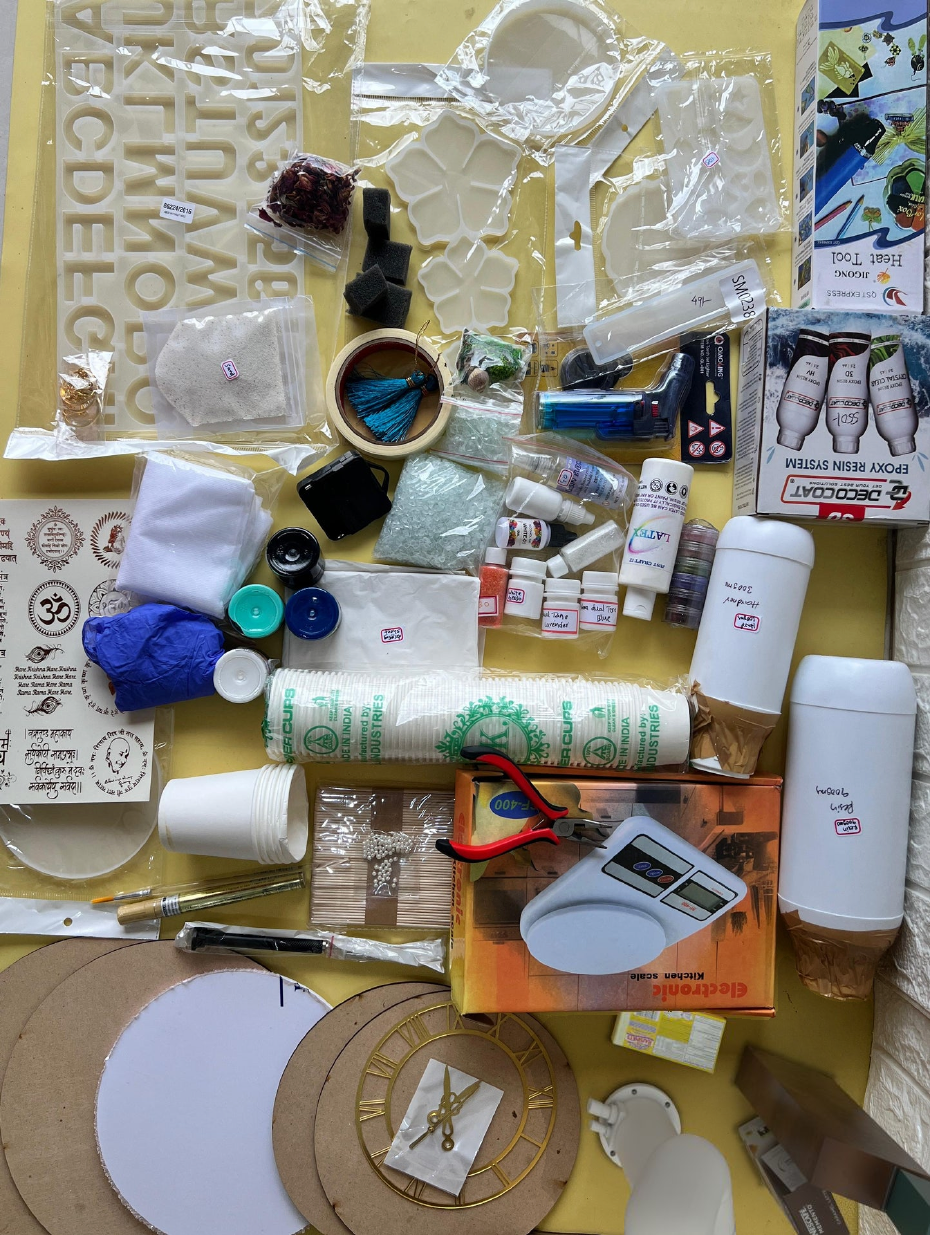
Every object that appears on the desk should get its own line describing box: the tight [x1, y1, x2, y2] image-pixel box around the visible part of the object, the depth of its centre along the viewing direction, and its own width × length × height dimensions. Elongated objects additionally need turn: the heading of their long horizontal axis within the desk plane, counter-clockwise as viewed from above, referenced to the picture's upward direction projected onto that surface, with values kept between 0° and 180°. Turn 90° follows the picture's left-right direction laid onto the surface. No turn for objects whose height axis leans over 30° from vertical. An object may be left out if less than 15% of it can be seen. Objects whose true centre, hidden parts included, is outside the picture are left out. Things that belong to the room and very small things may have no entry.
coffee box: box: [737, 1115, 851, 1235], centre depth 114 cm, size 9×6×16 cm
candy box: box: [610, 1011, 727, 1075], centre depth 122 cm, size 16×2×8 cm
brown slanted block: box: [733, 1045, 930, 1214], centre depth 110 cm, size 14×6×25 cm, turn 69°
